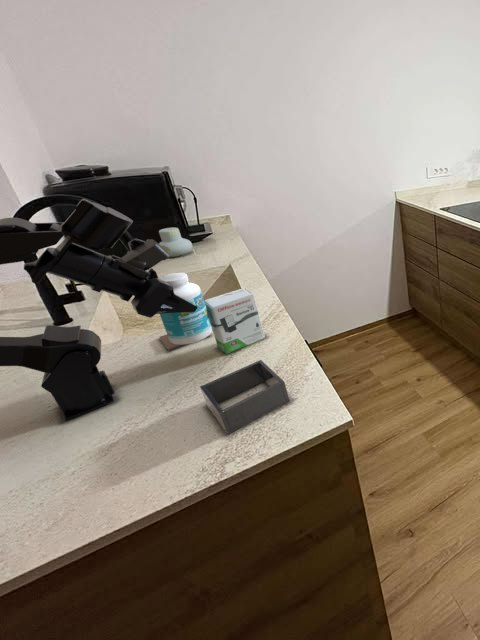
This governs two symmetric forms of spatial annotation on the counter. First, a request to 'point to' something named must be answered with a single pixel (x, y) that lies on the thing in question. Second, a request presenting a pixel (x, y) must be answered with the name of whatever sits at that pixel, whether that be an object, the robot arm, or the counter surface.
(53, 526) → the counter surface
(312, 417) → the counter surface
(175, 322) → the pill bottle
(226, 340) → the ink box
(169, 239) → the air freshener
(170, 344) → the trivet
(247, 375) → the sink basin
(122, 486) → the counter surface
